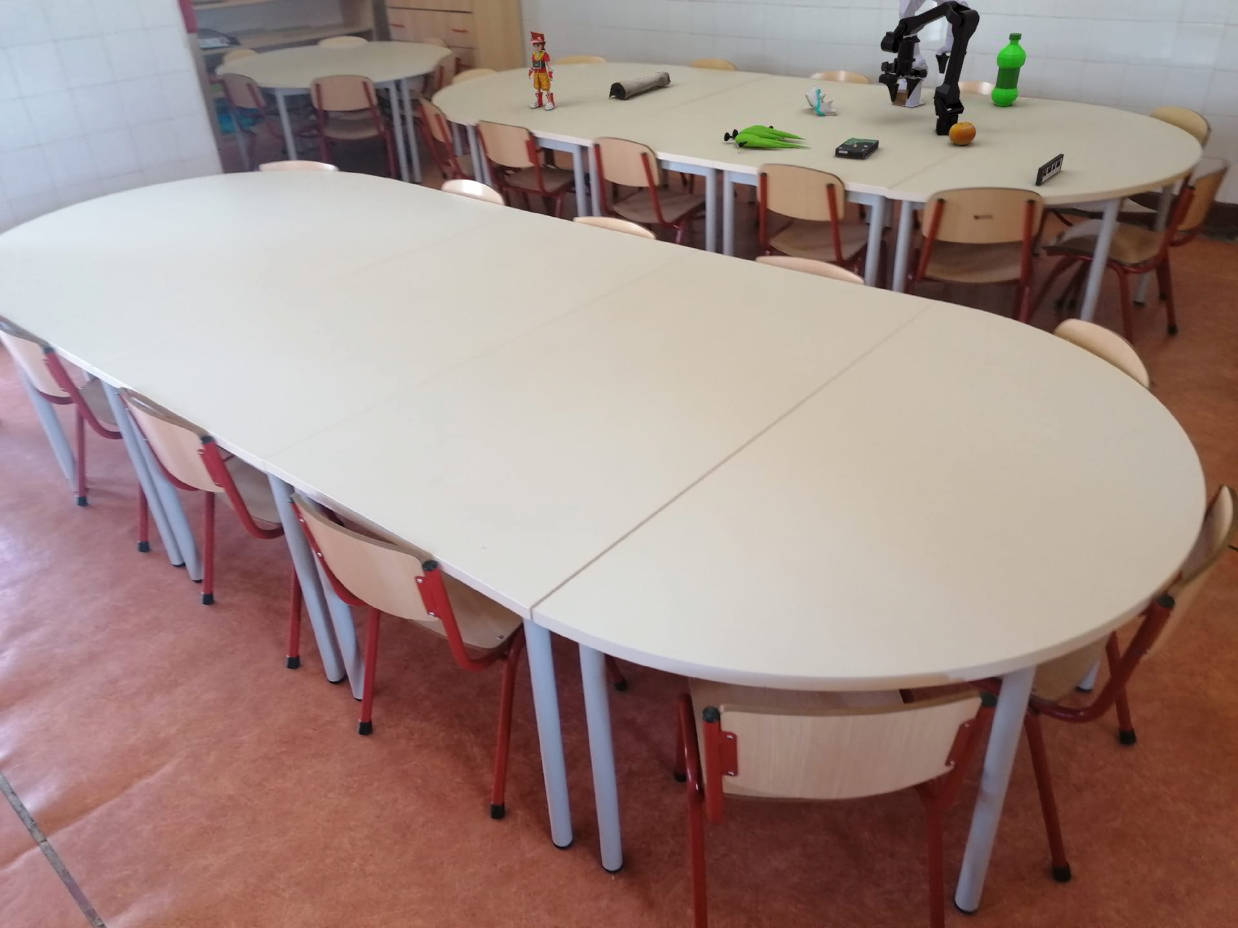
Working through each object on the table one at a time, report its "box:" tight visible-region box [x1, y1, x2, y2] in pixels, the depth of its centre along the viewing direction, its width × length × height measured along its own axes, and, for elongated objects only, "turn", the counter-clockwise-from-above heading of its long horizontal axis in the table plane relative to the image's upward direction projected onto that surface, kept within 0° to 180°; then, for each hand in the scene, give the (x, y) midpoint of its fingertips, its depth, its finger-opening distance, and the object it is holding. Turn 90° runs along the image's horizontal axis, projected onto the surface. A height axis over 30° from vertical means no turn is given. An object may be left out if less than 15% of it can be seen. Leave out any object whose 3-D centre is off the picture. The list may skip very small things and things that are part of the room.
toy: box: [527, 31, 556, 111], centre depth 374 cm, size 12×9×30 cm
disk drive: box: [834, 137, 880, 159], centre depth 305 cm, size 10×3×15 cm
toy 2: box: [723, 124, 807, 148], centre depth 319 cm, size 28×5×30 cm
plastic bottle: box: [991, 32, 1027, 107], centre depth 341 cm, size 10×10×25 cm
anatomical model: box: [804, 85, 838, 116], centre depth 351 cm, size 15×10×10 cm
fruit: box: [948, 121, 977, 146], centre depth 306 cm, size 8×8×8 cm
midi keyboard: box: [1035, 153, 1065, 186], centre depth 273 cm, size 18×1×5 cm, turn 138°
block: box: [891, 89, 909, 106], centre depth 333 cm, size 5×5×4 cm
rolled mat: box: [608, 71, 672, 101], centre depth 395 cm, size 30×9×10 cm
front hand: (900, 100), depth 334 cm, fingers closed on block, 7 cm apart
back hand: (948, 72), depth 357 cm, fingers open, 7 cm apart
